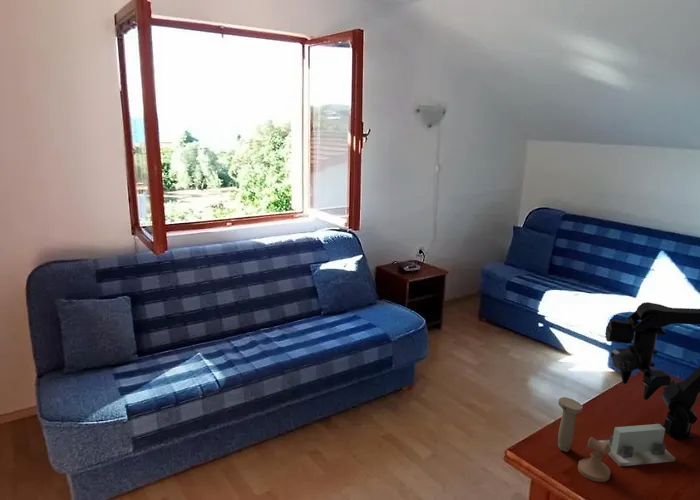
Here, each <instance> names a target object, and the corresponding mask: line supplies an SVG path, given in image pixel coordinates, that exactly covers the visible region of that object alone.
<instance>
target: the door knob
mask: <svg viewBox="0 0 700 500" xmlns="http://www.w3.org/2000/svg"><path fill="white" fill-rule="evenodd" d="M587 448H588V449H593V450H592V451H591V452H590V453H589V455H590V458H589V457H586V458H581V459H580V460H578V464H577V470H578V472H579V473H580V475H581V476H582V477H584V478H586V479H588V480H590V481H593V482H597V483H602V482H603V483H605V482H607V481H608V480H610V478H611V477H610V476H611V474H612V473H611V469H610V468H609V467H608V465H607V464H606V463H604V462H602V460H603V458H604V455H605V456H606V455H608V453H610V450H611V448H610V446H609V444H608V443H603V442H600V440H598V439H596V438H595V437H593V436H591V437H589V439H588V441H587Z"/></svg>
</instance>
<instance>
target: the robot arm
mask: <svg viewBox="0 0 700 500" xmlns="http://www.w3.org/2000/svg"><path fill="white" fill-rule="evenodd" d="M671 325H698V326H699V325H700V308H688V307H687V308H684V307H683V308H682V307H669V306H667V305H666V306H665V305H663V304H660V303H659V304H658V303H654V302H648V301H647V302H642V303H640V305H638V306H637V307H636V310H635V311H634V312H632V313H631V315H629V316H628V317H627V318H626V320H618V319H615V318H610V319H609V322H608V324H607V326H606V328H605V339H606V341H607V342H611V343H620V344H625V345H626V344H628V346H627V347H626V348H625V347H624V348H614V349H613V350H611V354H610V357H611V360H612V365H613V367H614V368H616V369H617V370H619V371H620V377H621V380H622V384H623V385H625V384H627V383H628V381H629V379H630V377H631V375H632V372H633V371H635V370H639V371H641V372H642V373H643V377H642V378H643V380H642V383H643V384H644V390H643V400H644V401H648V400H649V399H650V397H652V396H653V394H655V392H656V391H657V390H659V389H660V388H661V387H662V386H663V391H662V400H663V402H664V403H665V405H666V407H667V408H668V410H669V411H668V412H667V414H666V417H665V418H664V423H663V424H660V425H661V426H662V427H664V428H665V432H666V433H667V434H668V435H669V436H670V437H671V438H673V439H675V440H683V439H694V437H695V436H694V434H692V433H691V430H692V425H694V424H695V423H696V422H697V420H698V417H697V415H696V414H695V412H694V410H693V409H692V408H693V407H694V406H695V404H696V400H697V398H698V395H699V393H700V365H699V366H698V367H697V368H695V370H694V371H693V372H691V373H690V374H689V375H688V376H687V377H686V378H685V379H684V380H683V381H679V382H677V381H676V380H672V378H671V376H670V375H669V374H667V373H666V372H664V371H662V370H661V369H659V370H658V369H656V370H653V369H651V367H652V368H654V367H655V365H656V363H655V362H653V358H654V355H658V350H656V348H655V347H656V342H657V337H658V335H661V336H662V335H663V336H666V335H667V334H666V333H667V332H666V331H665V330H664V329H663V328H664V327H667V326H671ZM631 343H632V344H631Z"/></svg>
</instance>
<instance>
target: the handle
mask: <svg viewBox="0 0 700 500" xmlns="http://www.w3.org/2000/svg"><path fill="white" fill-rule="evenodd" d="M557 403H558V406H559V407H560V408H561V409H562V413H561V419H560V420H561V421H560V424H559V429H558V437H557V447H558V449H559V451H562V452H565V453H567V452H568V451H570V450H571V446H572V443H573V440H574V434H575V423H576V415H577V414H581V413H582V412H583V407H584V406H583V405H582V404H581V403H580V402H579V401H577V400H575V399H573V398H569V397H565V396H563V397H560V398H558V402H557Z"/></svg>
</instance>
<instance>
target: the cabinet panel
mask: <svg viewBox="0 0 700 500" xmlns="http://www.w3.org/2000/svg"><path fill="white" fill-rule="evenodd" d="M612 440H613V435H612V434H611V435H610V436H609V439H602V440H599V441H600V442H603V443H608V444H609V446H610V448H611V445H612ZM666 448H667V445H666V444H665V443H662V444H654V449H653V451H645V452H634V453H633V450H634V448H633V447H632V446H629V447H622V451H621V454H616V453H615V452H614V451H613V450H612V449H611V450H610V453H608V454H607V455H608V456H610V458H611V459H612V460H613V461H614V462H615V463H616V464H617V465H618V466H619V467H628V466H638V465H649V464H650V465H651V464H658V463H659V464H661V463H670V462H671V463H672V462H675V461H676V457H675V456H673V455H672V454H671V453H670V452H669V451H668V450H667V449H666Z"/></svg>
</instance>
